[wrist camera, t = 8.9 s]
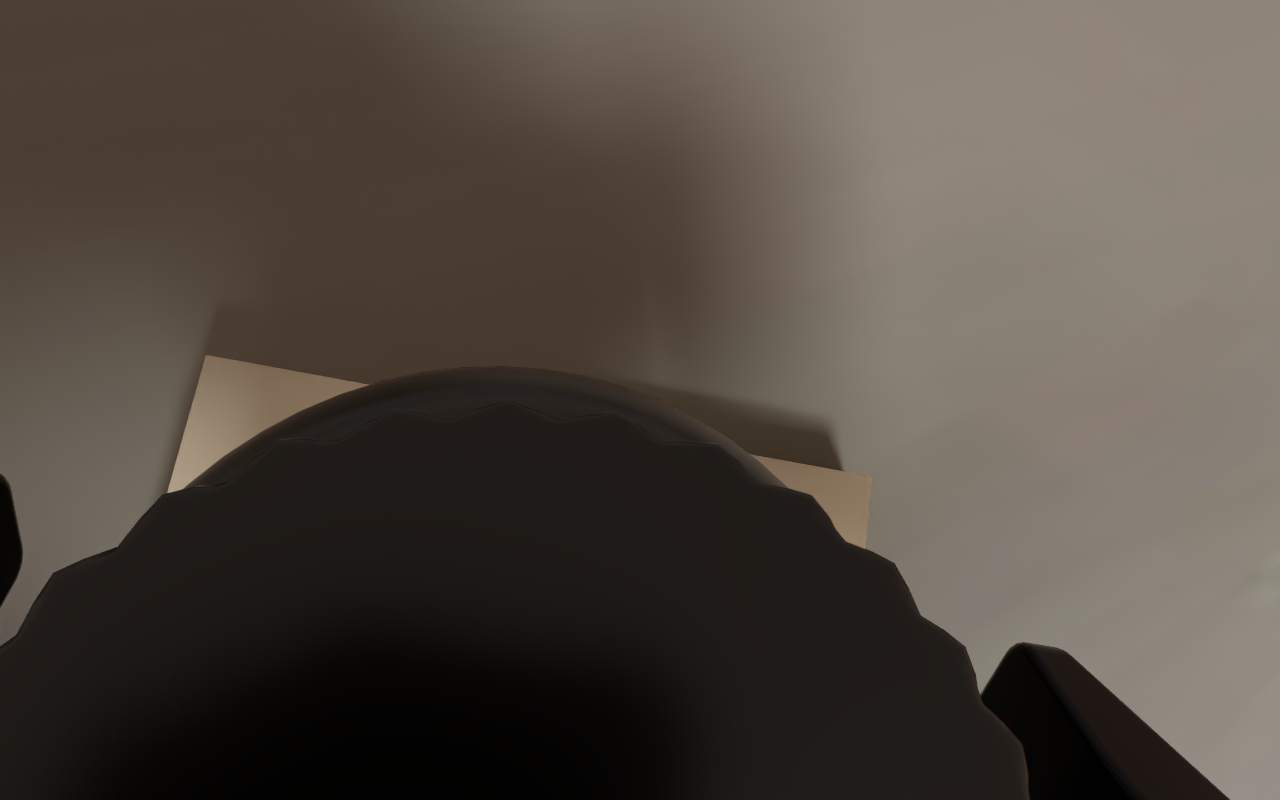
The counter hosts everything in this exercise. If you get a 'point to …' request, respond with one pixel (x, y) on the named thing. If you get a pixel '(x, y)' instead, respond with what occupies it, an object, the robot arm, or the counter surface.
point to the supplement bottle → (491, 622)
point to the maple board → (263, 396)
